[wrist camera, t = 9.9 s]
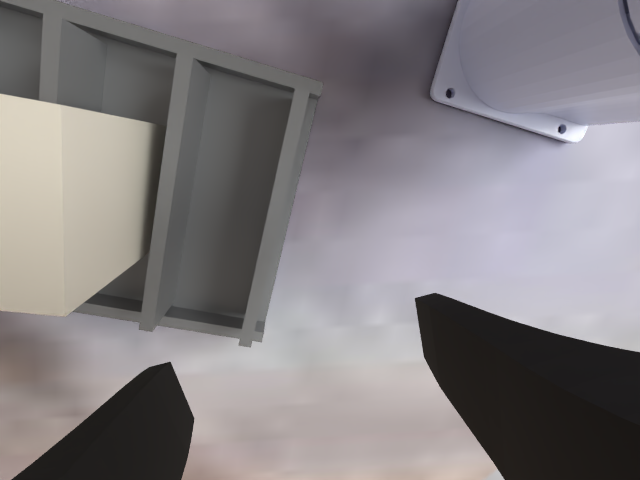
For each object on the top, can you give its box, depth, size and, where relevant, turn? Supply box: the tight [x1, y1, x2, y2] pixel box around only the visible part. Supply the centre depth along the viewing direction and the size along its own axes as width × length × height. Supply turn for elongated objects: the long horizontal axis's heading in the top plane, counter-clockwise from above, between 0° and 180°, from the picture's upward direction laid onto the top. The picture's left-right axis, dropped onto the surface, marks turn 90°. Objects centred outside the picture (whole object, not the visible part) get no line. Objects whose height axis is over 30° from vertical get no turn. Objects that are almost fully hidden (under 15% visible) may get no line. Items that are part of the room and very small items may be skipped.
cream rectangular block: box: [0, 94, 167, 317], centre depth 13 cm, size 2×6×8 cm, turn 170°
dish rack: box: [0, 0, 323, 347], centre depth 15 cm, size 16×14×4 cm
